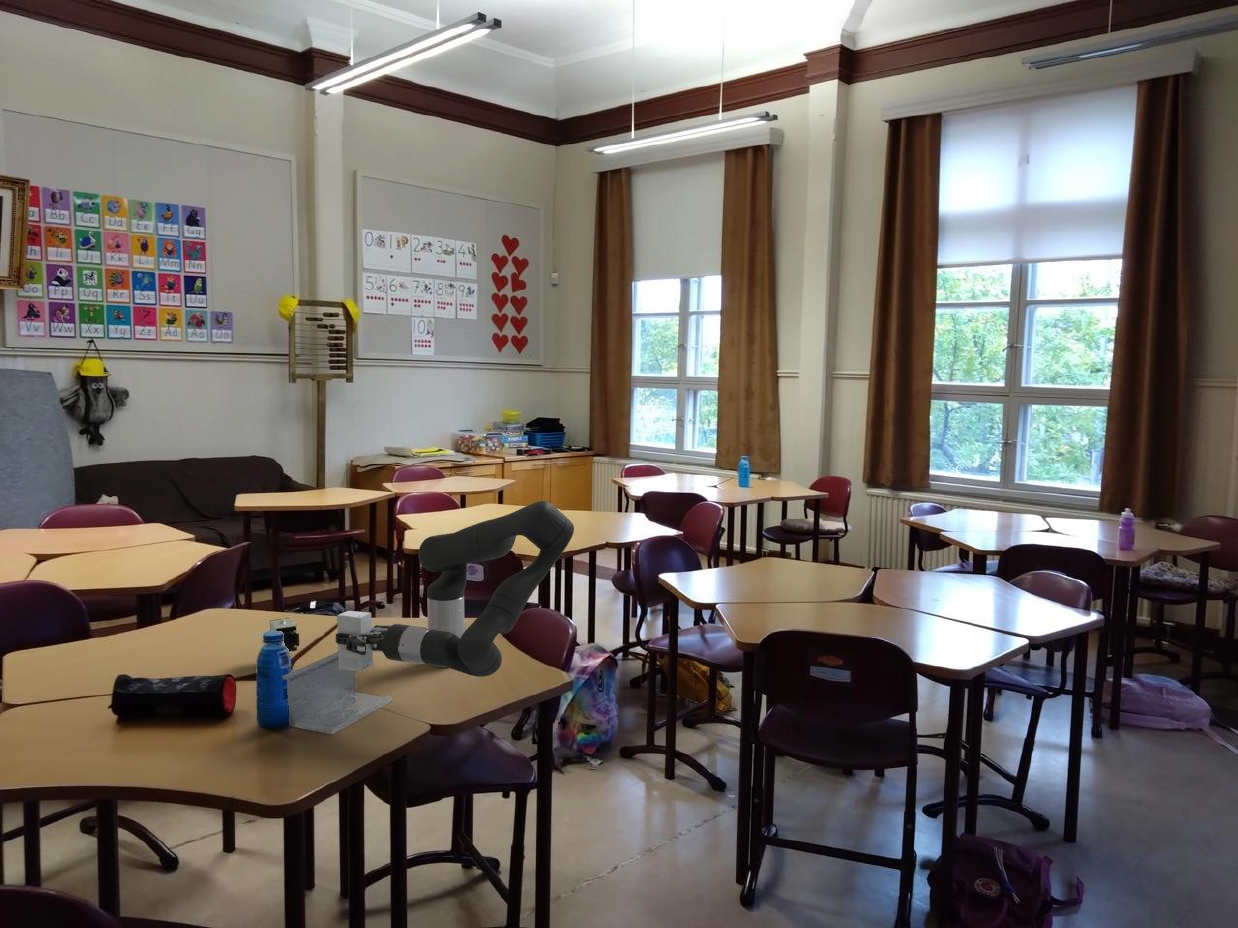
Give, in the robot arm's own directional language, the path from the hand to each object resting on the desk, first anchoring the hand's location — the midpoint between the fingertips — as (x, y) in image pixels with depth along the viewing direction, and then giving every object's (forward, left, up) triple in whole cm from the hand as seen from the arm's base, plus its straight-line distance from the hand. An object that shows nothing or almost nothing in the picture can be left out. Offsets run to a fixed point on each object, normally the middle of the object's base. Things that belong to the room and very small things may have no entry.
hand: (344, 634), depth 190 cm
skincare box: (0, +3, -7) cm, 8 cm away
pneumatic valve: (-20, -35, -18) cm, 44 cm away
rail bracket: (0, -2, -18) cm, 18 cm away
